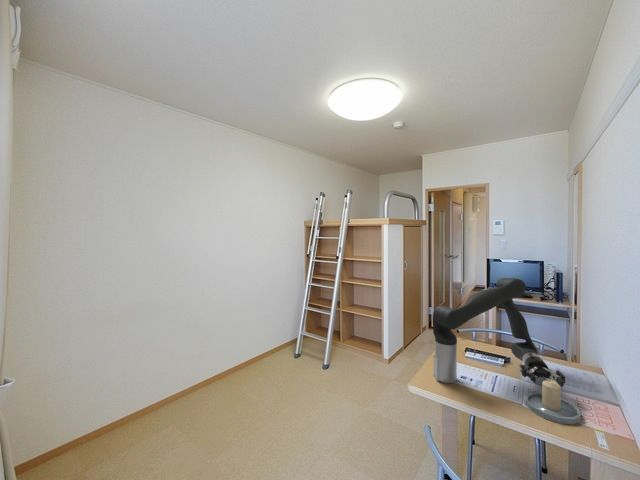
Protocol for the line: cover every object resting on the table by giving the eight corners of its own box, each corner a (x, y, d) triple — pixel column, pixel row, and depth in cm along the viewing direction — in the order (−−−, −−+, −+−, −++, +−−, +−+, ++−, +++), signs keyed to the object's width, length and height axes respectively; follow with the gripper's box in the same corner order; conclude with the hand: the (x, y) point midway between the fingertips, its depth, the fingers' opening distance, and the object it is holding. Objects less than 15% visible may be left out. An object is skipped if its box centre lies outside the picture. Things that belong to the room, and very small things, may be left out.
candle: (561, 413, 104) (562, 386, 104) (543, 408, 107) (543, 382, 107) (559, 405, 109) (559, 379, 109) (541, 400, 112) (541, 375, 112)
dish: (542, 422, 101) (542, 416, 101) (517, 395, 117) (517, 391, 117) (592, 425, 99) (592, 420, 99) (560, 398, 115) (560, 393, 115)
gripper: (515, 353, 129) (526, 370, 114) (554, 358, 124) (571, 376, 109) (515, 369, 129) (526, 388, 114) (554, 375, 124) (570, 395, 109)
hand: (548, 382), depth 111 cm, fingers open, 8 cm apart
